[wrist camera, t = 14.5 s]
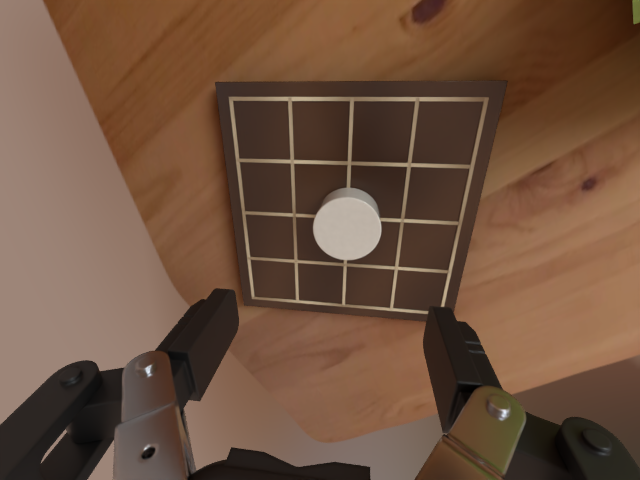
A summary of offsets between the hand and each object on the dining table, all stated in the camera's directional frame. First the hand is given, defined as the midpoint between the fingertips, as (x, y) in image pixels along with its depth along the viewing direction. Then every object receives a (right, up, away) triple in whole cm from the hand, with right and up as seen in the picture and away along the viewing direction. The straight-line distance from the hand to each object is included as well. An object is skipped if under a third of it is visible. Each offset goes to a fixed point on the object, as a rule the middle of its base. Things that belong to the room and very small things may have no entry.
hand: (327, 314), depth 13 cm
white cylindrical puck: (+2, +5, +10) cm, 11 cm away
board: (+2, +5, +11) cm, 13 cm away
